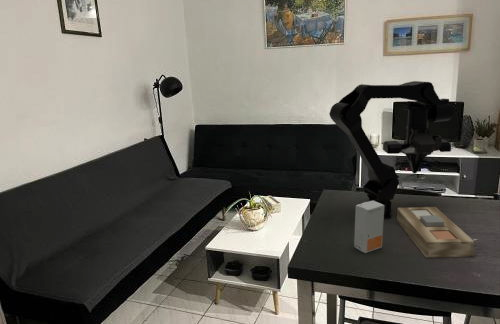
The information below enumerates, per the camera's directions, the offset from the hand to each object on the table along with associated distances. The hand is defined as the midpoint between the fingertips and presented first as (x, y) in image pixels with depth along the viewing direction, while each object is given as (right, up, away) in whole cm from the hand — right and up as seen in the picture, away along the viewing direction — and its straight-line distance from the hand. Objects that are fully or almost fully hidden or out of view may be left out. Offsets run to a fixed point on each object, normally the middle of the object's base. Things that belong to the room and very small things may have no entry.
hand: (414, 173), depth 118 cm
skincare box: (-21, -19, -20) cm, 34 cm away
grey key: (-3, -14, -16) cm, 22 cm away
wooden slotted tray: (-2, -17, -16) cm, 23 cm away
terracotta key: (-3, -17, -23) cm, 29 cm away
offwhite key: (-2, -13, -9) cm, 16 cm away
